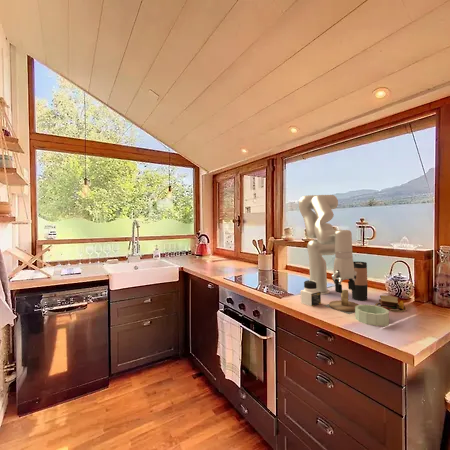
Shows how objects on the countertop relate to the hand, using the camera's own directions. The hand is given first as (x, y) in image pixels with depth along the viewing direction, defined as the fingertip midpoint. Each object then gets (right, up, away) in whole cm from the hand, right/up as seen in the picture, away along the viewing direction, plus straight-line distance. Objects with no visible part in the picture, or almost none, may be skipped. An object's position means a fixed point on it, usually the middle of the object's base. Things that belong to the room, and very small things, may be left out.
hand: (345, 291), depth 120 cm
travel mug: (+14, -8, +13) cm, 21 cm away
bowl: (+4, -9, -16) cm, 18 cm away
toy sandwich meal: (+21, -9, -1) cm, 23 cm away
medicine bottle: (-14, -9, +8) cm, 18 cm away
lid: (0, -8, +1) cm, 8 cm away
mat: (0, -9, +1) cm, 9 cm away
